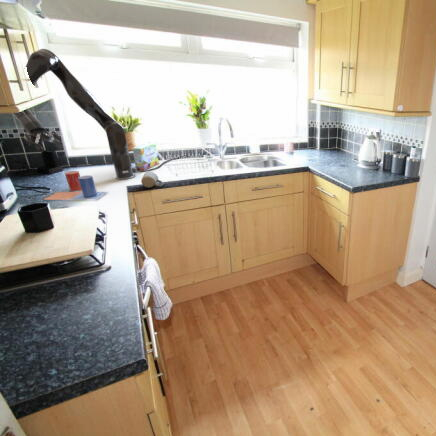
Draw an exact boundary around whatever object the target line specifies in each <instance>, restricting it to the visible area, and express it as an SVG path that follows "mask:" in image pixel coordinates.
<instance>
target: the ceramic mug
mask: <svg viewBox="0 0 436 436" xmlns="http://www.w3.org/2000/svg"><path fill="white" fill-rule="evenodd" d="M140 182H141V185H142V186H143V187H144V188H147V189H151V188H154V187H163V186H164V181H162V180H160V179H159V177H158V175H157V174H156V173H155V172H153V171H146V172H144V174H143V176H141V181H140Z"/></svg>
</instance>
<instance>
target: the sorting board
mask: <svg viewBox="0 0 436 436" xmlns="http://www.w3.org/2000/svg"><path fill="white" fill-rule="evenodd" d="M105 193H107V191H97V196H95V197H90V198H85V197H83V193H82V191H67V192H66V191H63V192H62V191H61V192H60V191H59V192H57V191H56V192H55V193H53V194H51V195H48V197H46V198H44V199H43V200H44V201H50V200H51V201H53V200H54V201H55V200H57V201H58V200H97V199H99V198H100V197H102V196H104V194H105Z"/></svg>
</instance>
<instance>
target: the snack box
mask: <svg viewBox="0 0 436 436" xmlns="http://www.w3.org/2000/svg"><path fill="white" fill-rule="evenodd" d="M131 150H132V154H133V159H134V164H135V168H136V169H137V170H140V171H147V170H149V169H152V168H154V167H156V165H160V164H159V163H160V161H159V155H158V148H157V143H156V142H147V143H143V144H141V145H138V146H135V147H132V149H131ZM137 170H136V171H137Z"/></svg>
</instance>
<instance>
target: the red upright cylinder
mask: <svg viewBox="0 0 436 436" xmlns="http://www.w3.org/2000/svg"><path fill="white" fill-rule="evenodd" d="M64 175H65V179H66V182H67V185H68V188H69V192H80V191H82V190H81V186H80V183H79V180H78V177H81V174H80V171H78V170H70V171H65V173H64Z"/></svg>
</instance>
